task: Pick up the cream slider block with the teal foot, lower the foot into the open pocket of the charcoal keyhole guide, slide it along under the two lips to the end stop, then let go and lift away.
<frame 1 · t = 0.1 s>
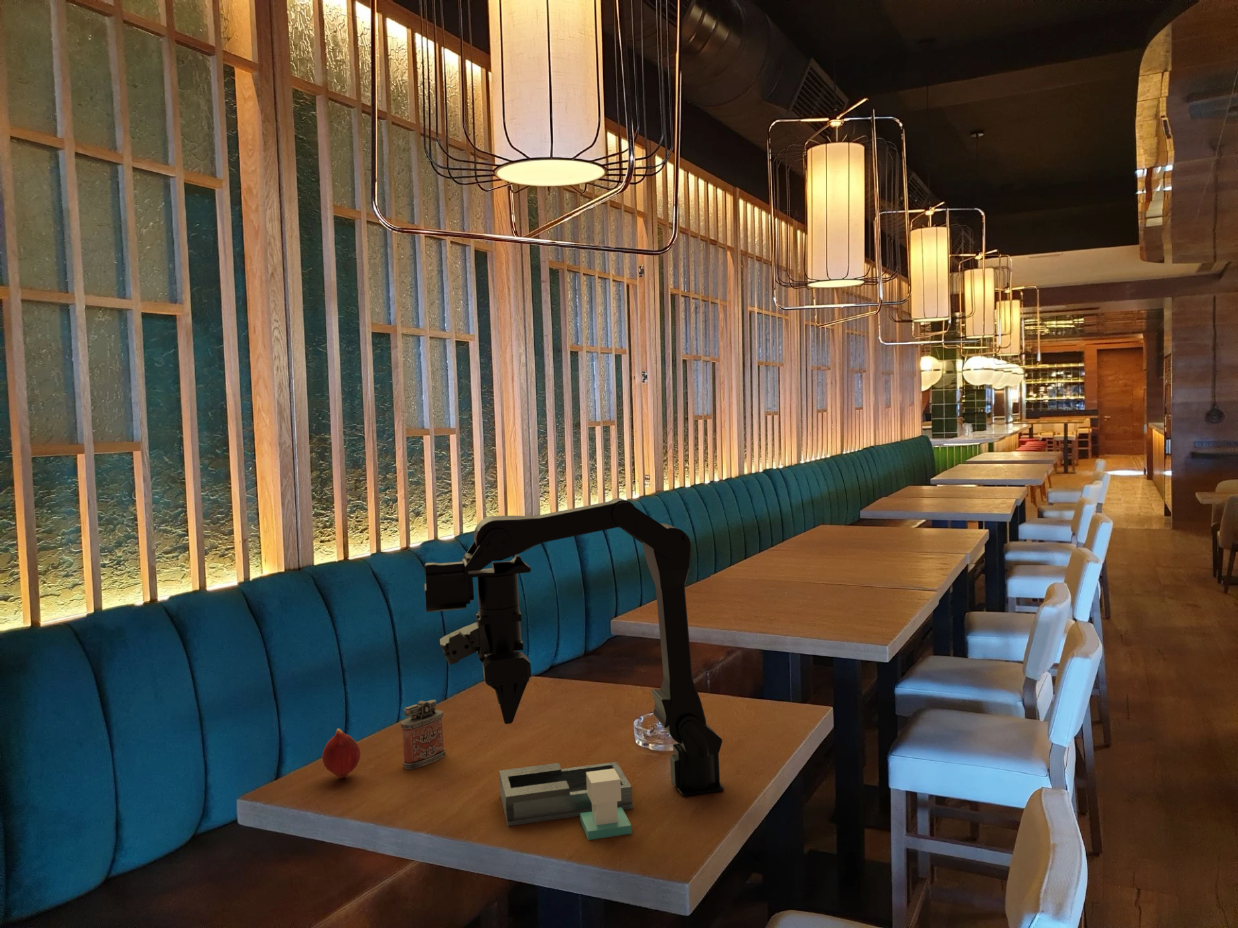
hand: (505, 713, 132), 15 cm above the table, tool pointing down, fingers open, 9 cm apart
keyhole guide: (565, 801, 136), on the table
slider: (605, 827, 127), on the table
onion: (343, 778, 150), on the table
lighter: (424, 761, 155), on the table
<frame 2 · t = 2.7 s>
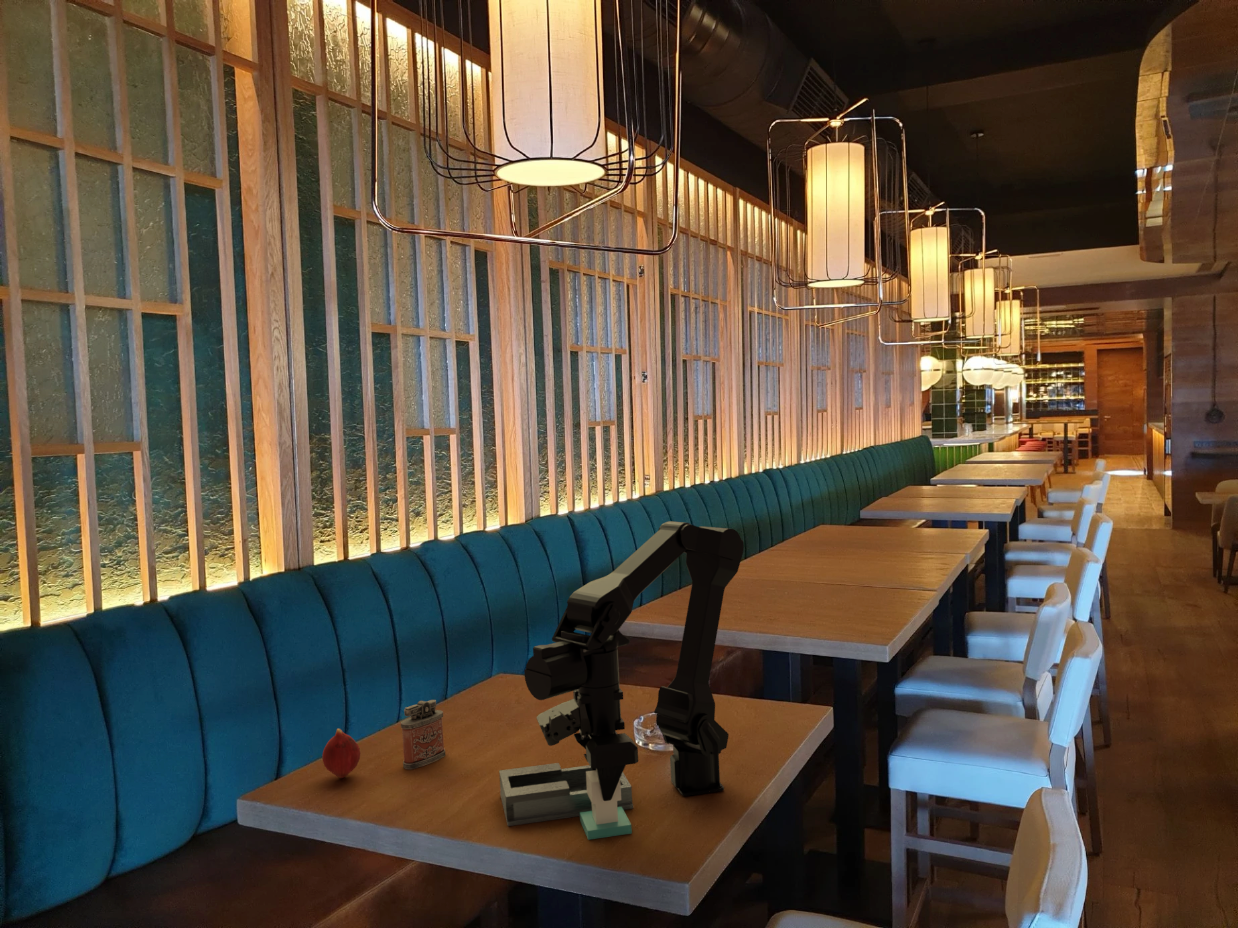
hand: (603, 793, 127), 5 cm above the table, tool pointing down, fingers closed on slider, 4 cm apart
slider: (605, 826, 127), on the table, touching gripper
everything else where it was.
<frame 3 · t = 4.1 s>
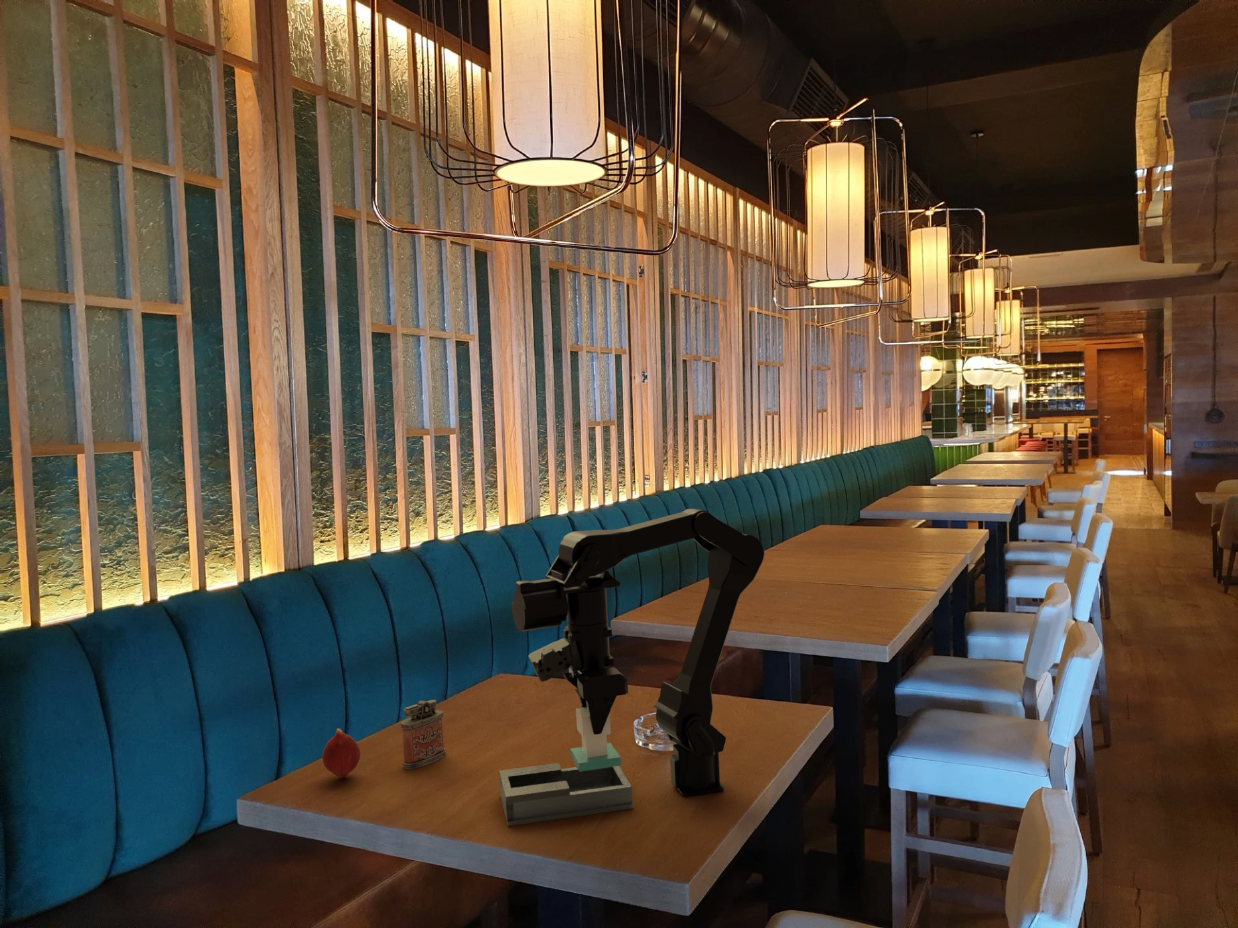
hand: (593, 728, 132), 12 cm above the table, tool pointing down, fingers closed on slider, 4 cm apart
slider: (595, 760, 132), point 7 cm above the table, touching gripper
everything else where it was.
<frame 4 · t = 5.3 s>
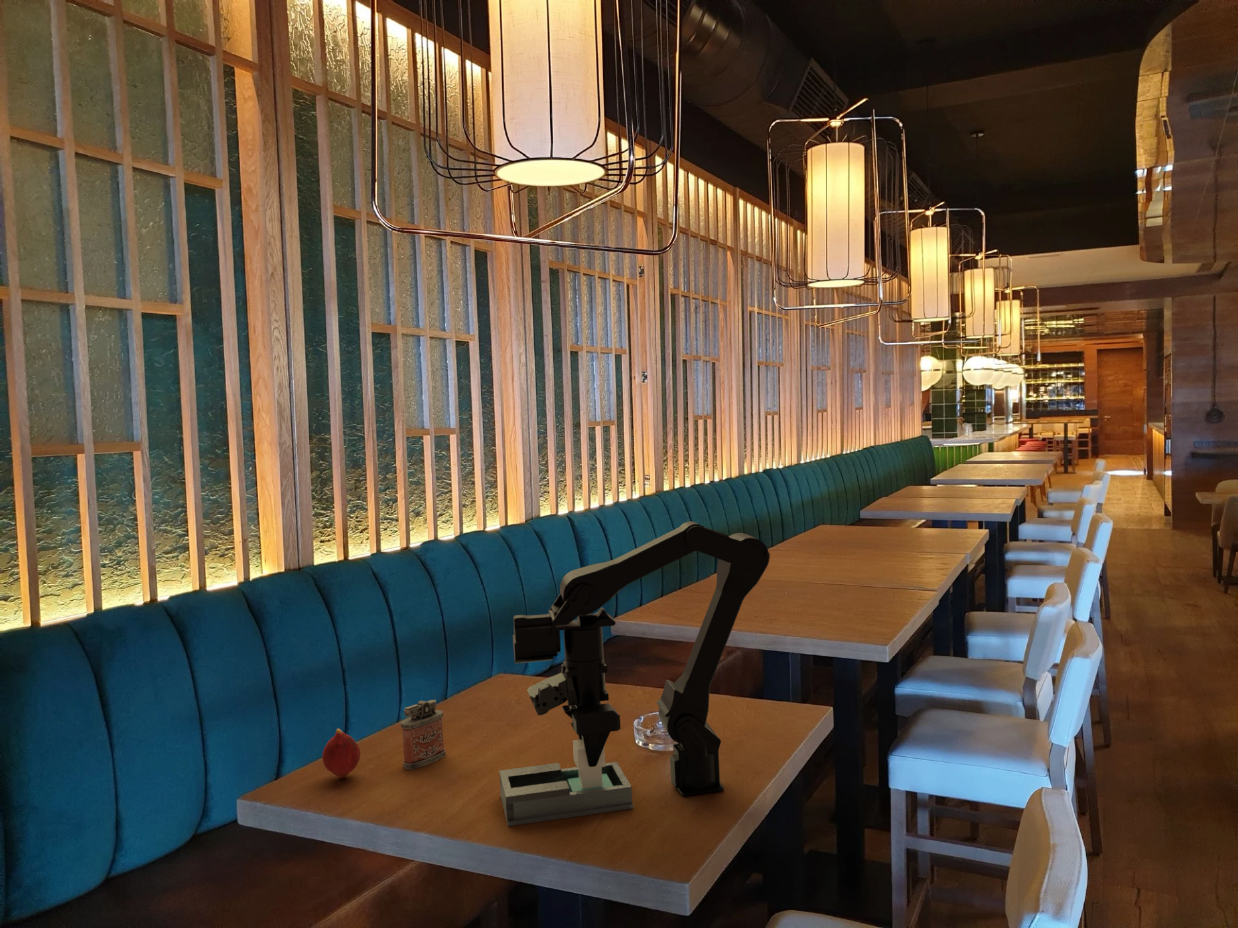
hand: (589, 760, 137), 6 cm above the table, tool pointing down, fingers closed on slider, 4 cm apart
slider: (590, 791, 137), point 1 cm above the table, touching gripper
everything else where it was.
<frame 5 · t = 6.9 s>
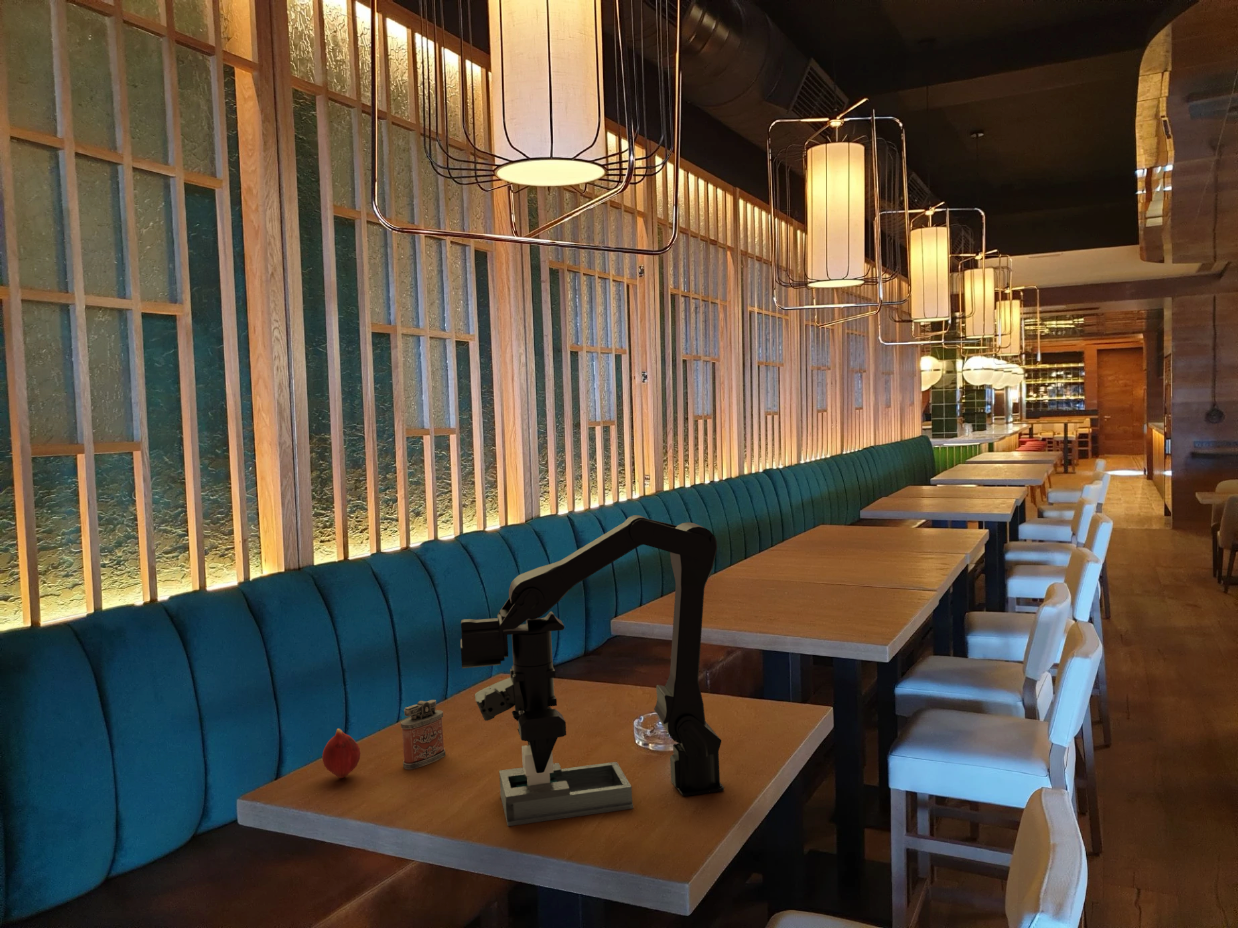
hand: (538, 766, 135), 6 cm above the table, tool pointing down, fingers closed on slider, 4 cm apart
slider: (539, 797, 135), point 1 cm above the table, touching gripper
everything else where it was.
when the fingers open (6 cm above the table, at t = 8.3 s): slider stays where it is, resting on keyhole guide.
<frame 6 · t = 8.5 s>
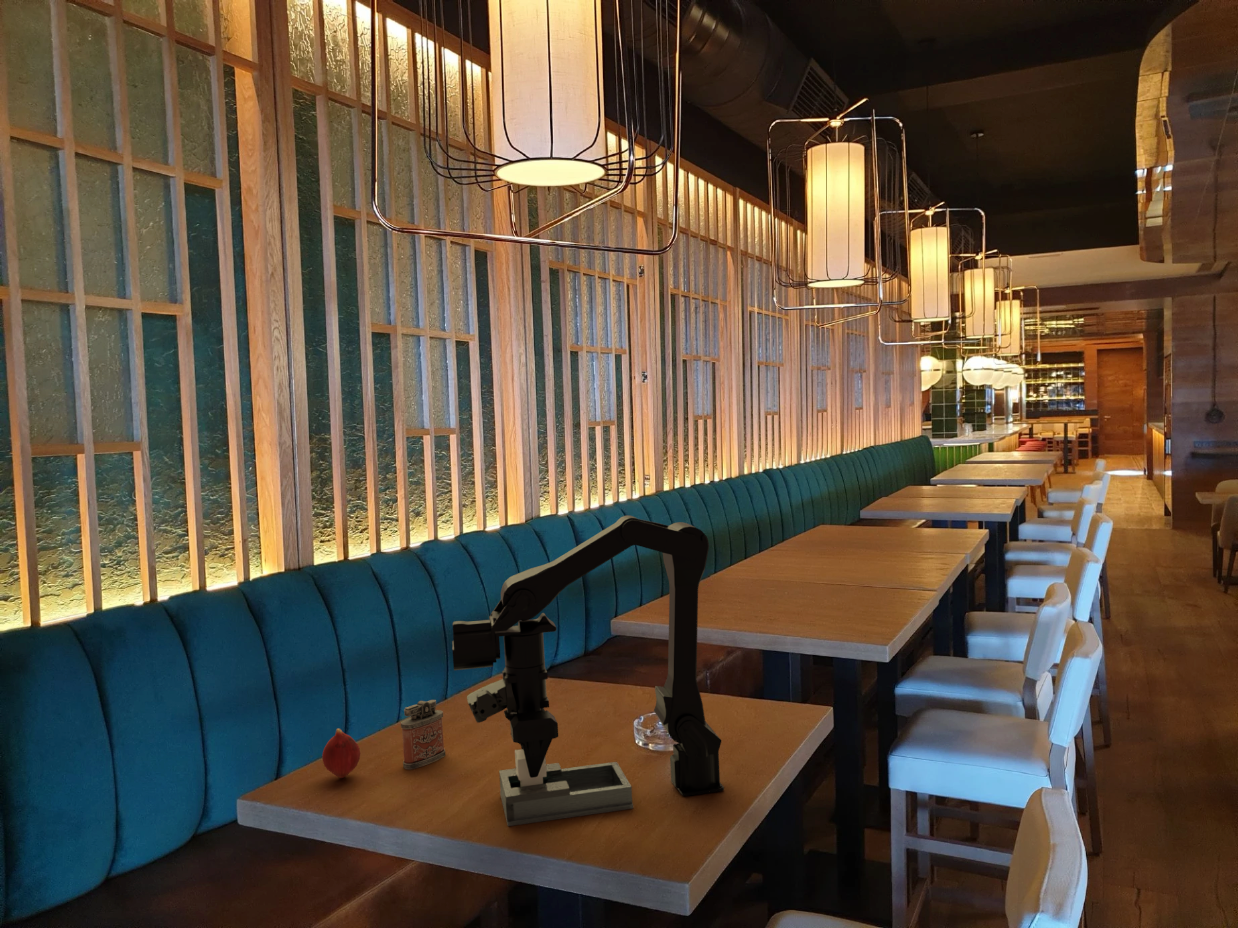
hand: (530, 768, 135), 6 cm above the table, tool pointing down, fingers open, 6 cm apart
slider: (532, 801, 135), point 1 cm above the table, touching keyhole guide
everything else where it was.
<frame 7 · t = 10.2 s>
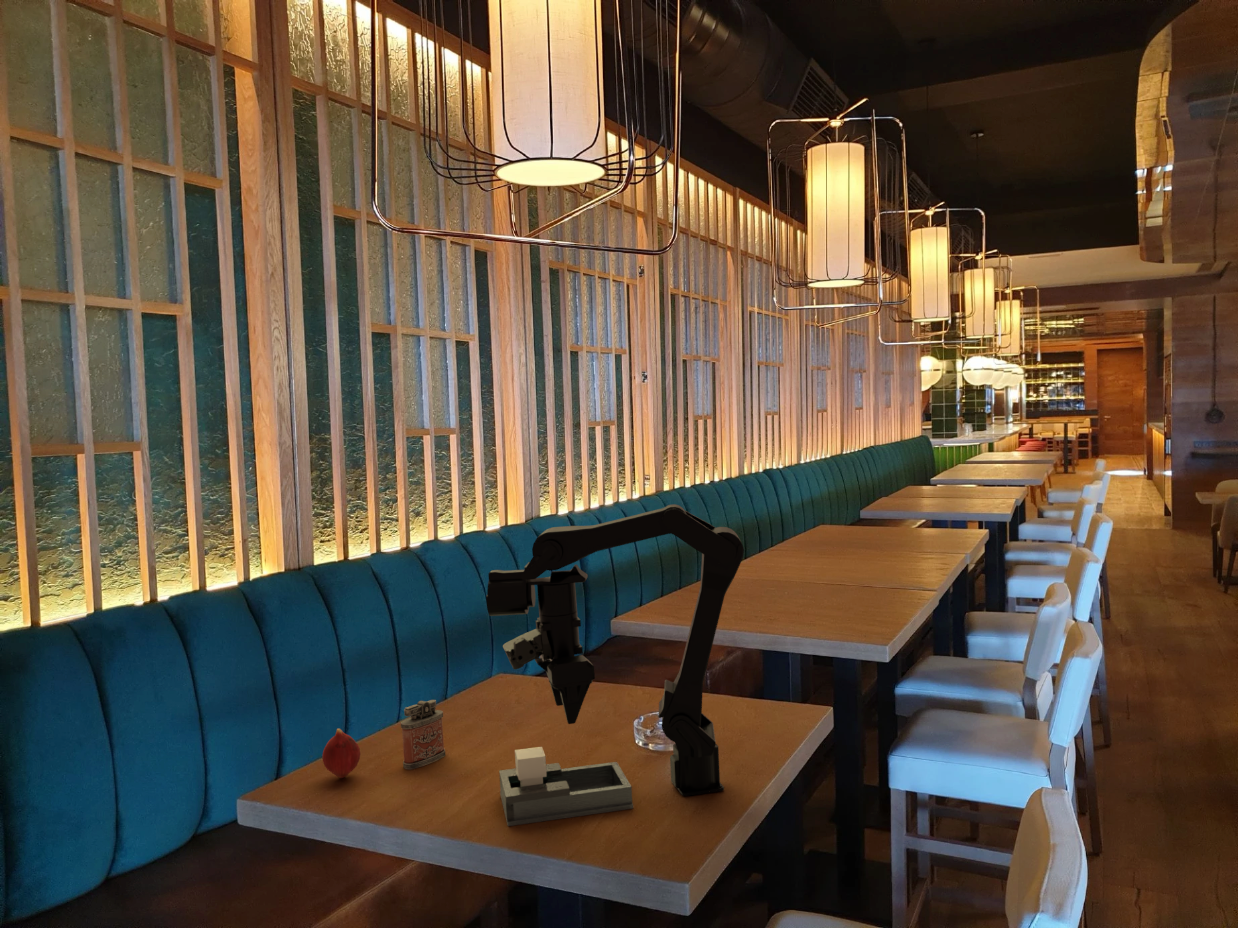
hand: (565, 713, 140), 12 cm above the table, tool pointing down, fingers open, 9 cm apart
nothing on the table moved.
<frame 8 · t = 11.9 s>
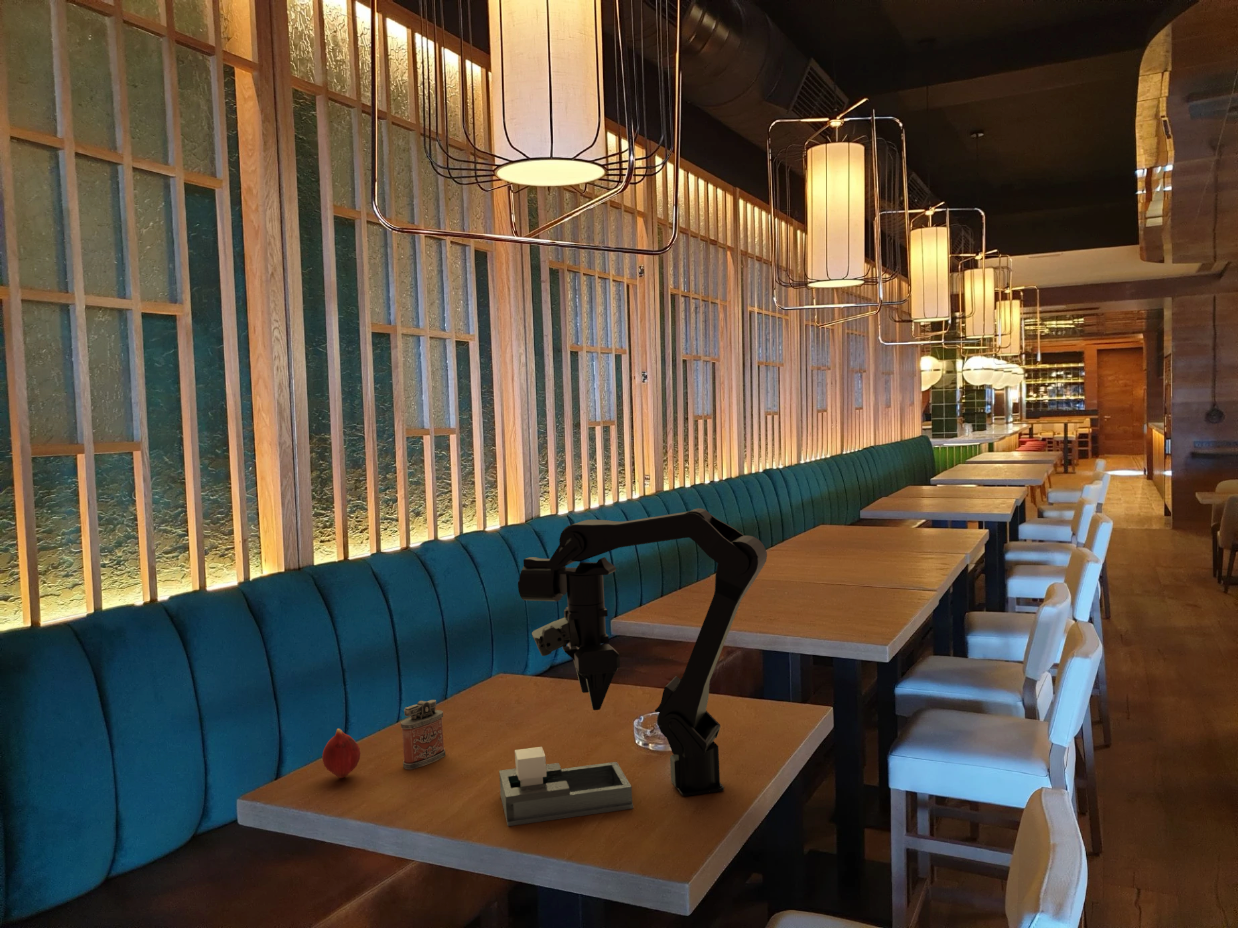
hand: (590, 700, 145), 12 cm above the table, tool pointing down, fingers open, 9 cm apart
nothing on the table moved.
at the end: slider 0.2 cm from the target spot on the keyhole guide, point 0.6 cm above the keyhole guide's base; slider tilted 0°; the gripper is holding nothing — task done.
